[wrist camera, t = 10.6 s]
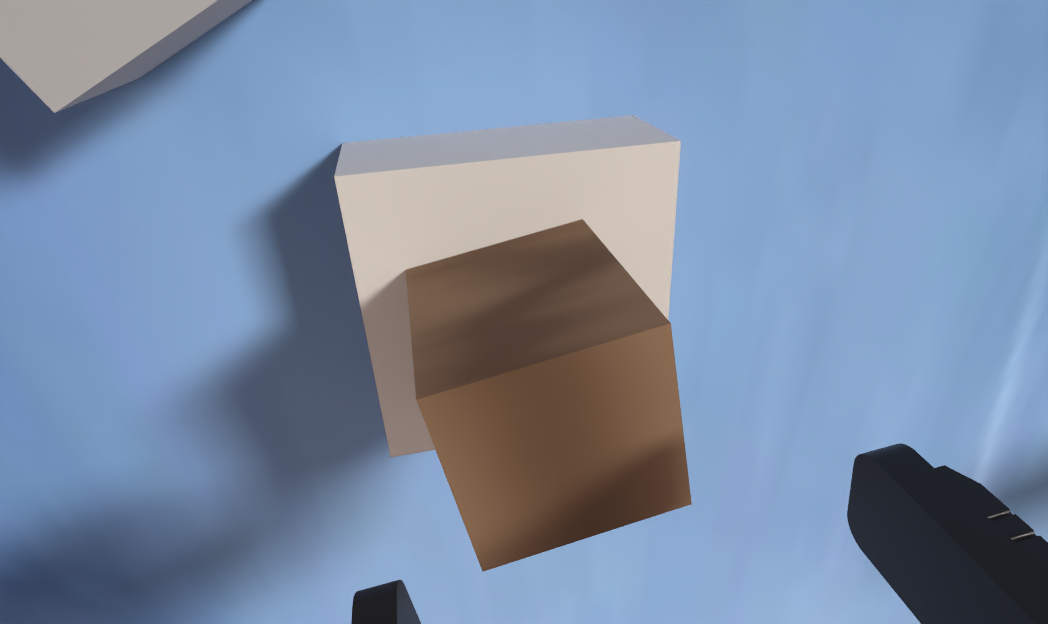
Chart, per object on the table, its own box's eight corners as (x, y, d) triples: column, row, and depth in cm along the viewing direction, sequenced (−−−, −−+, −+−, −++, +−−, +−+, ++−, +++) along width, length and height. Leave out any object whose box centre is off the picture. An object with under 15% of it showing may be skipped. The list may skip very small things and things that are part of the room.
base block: (629, 113, 20) (680, 140, 17) (622, 349, 24) (661, 411, 21) (343, 140, 19) (334, 176, 15) (389, 385, 23) (390, 457, 20)
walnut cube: (582, 219, 17) (670, 323, 12) (609, 364, 20) (691, 503, 14) (405, 269, 17) (416, 399, 12) (455, 411, 19) (483, 571, 14)
